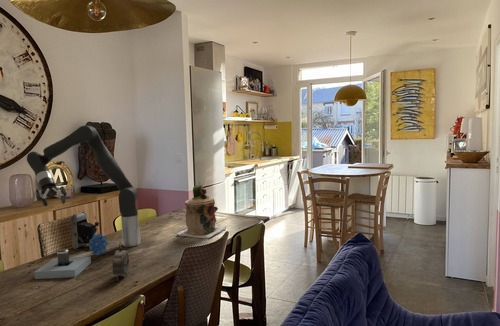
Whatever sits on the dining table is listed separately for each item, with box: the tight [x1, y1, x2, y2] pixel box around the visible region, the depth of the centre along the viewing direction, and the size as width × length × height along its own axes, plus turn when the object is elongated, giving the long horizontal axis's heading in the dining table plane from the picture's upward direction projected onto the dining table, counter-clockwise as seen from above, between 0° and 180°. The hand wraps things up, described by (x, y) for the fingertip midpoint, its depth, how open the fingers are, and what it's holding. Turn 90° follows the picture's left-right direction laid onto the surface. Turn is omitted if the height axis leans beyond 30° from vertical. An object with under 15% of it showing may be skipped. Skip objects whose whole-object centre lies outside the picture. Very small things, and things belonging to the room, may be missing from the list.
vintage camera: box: [70, 211, 100, 250], centre depth 211 cm, size 10×16×20 cm, turn 78°
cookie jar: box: [176, 181, 227, 240], centre depth 232 cm, size 25×25×32 cm
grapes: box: [89, 233, 109, 256], centre depth 196 cm, size 12×7×12 cm, turn 72°
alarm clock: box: [112, 241, 130, 282], centre depth 163 cm, size 11×5×16 cm, turn 5°
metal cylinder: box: [56, 248, 70, 266], centre depth 174 cm, size 5×5×10 cm
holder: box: [33, 256, 92, 280], centre depth 174 cm, size 18×18×3 cm
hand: (55, 204), depth 192 cm, fingers open, 8 cm apart
